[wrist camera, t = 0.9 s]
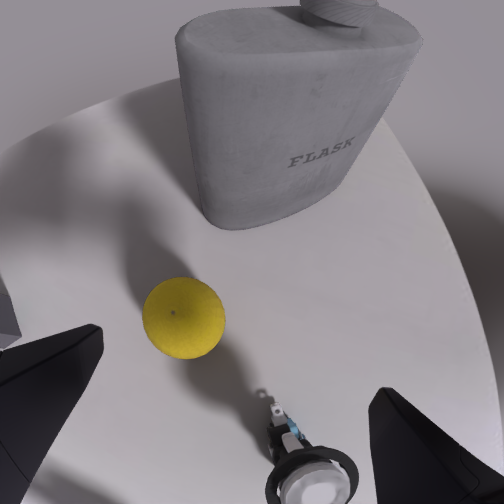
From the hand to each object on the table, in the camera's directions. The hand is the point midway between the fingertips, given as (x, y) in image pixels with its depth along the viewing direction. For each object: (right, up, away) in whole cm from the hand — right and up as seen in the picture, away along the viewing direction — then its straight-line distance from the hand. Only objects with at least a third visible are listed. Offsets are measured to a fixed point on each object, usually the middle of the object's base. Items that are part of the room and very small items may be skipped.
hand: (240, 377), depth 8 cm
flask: (+3, +10, +19) cm, 22 cm away
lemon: (-4, -2, +15) cm, 16 cm away
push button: (+3, -11, +13) cm, 17 cm away
